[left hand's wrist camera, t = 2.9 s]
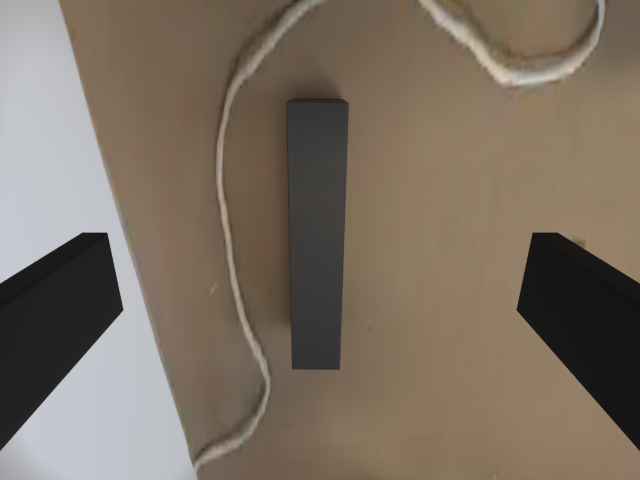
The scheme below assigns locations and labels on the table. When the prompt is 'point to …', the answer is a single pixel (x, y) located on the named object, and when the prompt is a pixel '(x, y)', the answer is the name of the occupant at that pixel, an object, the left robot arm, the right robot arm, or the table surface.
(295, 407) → the table surface
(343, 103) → the bar
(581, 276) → the left robot arm
